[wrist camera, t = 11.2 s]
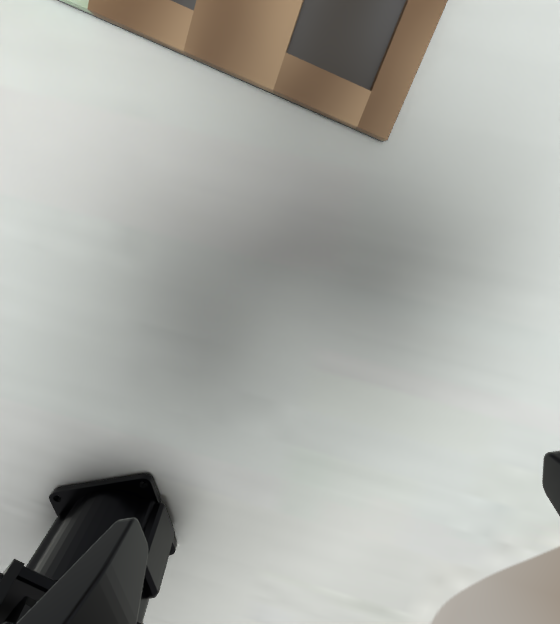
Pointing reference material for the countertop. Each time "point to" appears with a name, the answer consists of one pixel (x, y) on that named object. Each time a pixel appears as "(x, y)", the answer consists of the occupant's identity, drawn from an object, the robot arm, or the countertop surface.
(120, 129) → the countertop surface
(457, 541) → the countertop surface
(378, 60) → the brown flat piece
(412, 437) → the countertop surface
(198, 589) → the countertop surface
